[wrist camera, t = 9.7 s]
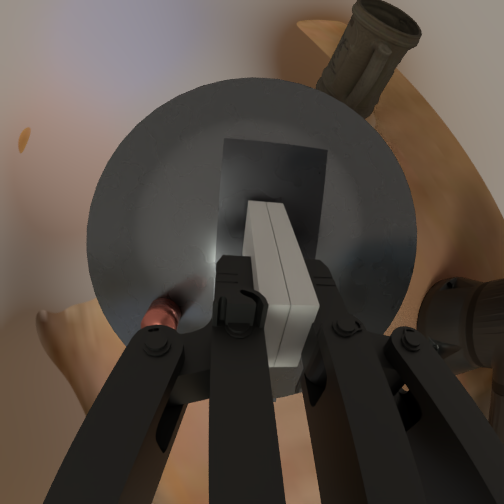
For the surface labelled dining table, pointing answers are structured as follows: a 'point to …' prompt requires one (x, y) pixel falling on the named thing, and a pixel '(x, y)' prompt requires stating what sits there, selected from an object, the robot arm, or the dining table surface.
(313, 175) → the cooker lid
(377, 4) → the beer stein
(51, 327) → the dining table surface
